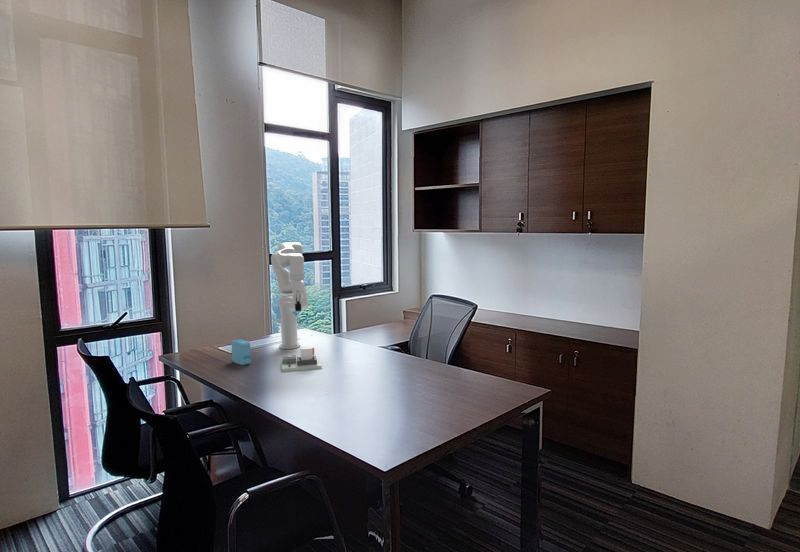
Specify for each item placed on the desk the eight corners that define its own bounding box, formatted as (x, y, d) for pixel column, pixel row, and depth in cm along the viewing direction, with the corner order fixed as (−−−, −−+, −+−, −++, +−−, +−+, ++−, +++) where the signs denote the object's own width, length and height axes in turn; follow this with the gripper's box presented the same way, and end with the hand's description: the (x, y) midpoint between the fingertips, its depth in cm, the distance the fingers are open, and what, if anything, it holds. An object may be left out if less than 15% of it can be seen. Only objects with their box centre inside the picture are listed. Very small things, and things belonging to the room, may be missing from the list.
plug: (300, 362, 253) (300, 347, 252) (314, 361, 255) (313, 346, 254) (301, 364, 249) (300, 349, 248) (314, 363, 251) (314, 348, 250)
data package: (251, 364, 257) (250, 342, 256) (243, 365, 254) (242, 343, 252) (239, 360, 265) (238, 338, 264) (232, 361, 262) (231, 340, 260)
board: (281, 363, 257) (281, 354, 257) (319, 360, 262) (318, 351, 262) (281, 371, 242) (281, 362, 242) (321, 368, 247) (321, 359, 246)
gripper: (289, 276, 266) (291, 309, 268) (290, 279, 252) (291, 313, 254) (303, 275, 268) (304, 308, 270) (304, 278, 254) (306, 312, 256)
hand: (298, 310), depth 262 cm, fingers closed
